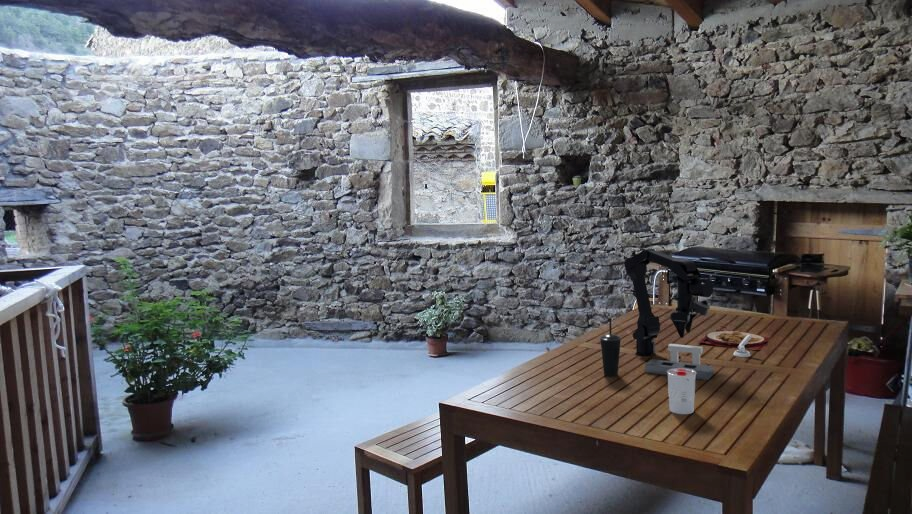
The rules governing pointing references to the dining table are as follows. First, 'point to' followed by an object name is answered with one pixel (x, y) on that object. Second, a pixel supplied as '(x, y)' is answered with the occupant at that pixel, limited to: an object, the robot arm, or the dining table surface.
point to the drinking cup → (610, 352)
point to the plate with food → (733, 339)
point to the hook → (743, 348)
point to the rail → (662, 367)
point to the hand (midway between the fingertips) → (685, 335)
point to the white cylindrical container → (681, 390)
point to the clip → (677, 348)
